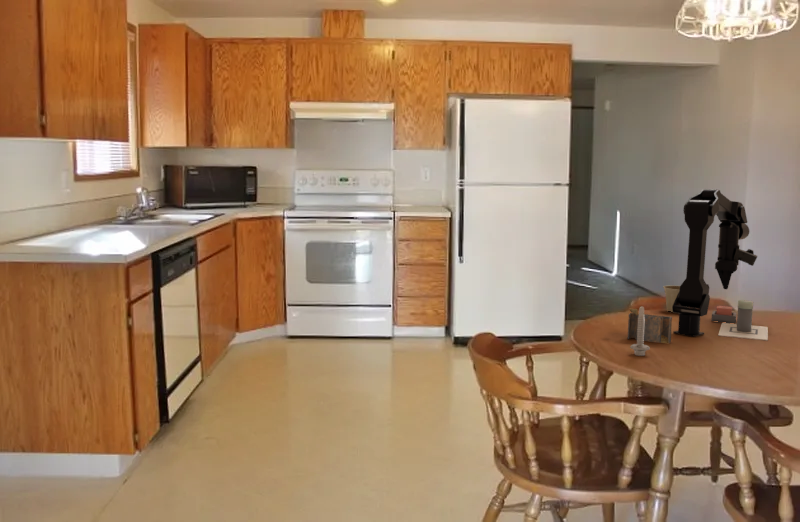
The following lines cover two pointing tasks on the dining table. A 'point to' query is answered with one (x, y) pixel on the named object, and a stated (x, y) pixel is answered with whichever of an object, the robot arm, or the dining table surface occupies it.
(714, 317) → the button housing
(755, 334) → the paper sheet
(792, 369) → the dining table surface
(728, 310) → the button
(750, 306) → the grey cylinder
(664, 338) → the bent metal bracket
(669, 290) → the flower pot
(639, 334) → the screw
